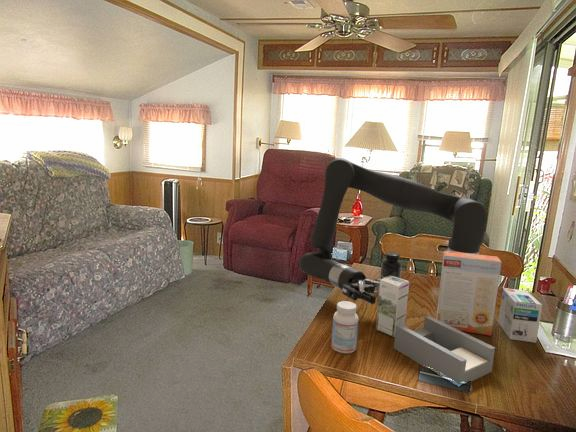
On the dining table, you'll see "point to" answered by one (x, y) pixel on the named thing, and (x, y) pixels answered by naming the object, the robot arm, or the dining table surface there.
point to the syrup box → (392, 304)
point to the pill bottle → (345, 328)
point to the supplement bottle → (391, 265)
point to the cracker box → (468, 291)
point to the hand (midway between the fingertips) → (386, 297)
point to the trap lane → (446, 350)
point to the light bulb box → (519, 315)
